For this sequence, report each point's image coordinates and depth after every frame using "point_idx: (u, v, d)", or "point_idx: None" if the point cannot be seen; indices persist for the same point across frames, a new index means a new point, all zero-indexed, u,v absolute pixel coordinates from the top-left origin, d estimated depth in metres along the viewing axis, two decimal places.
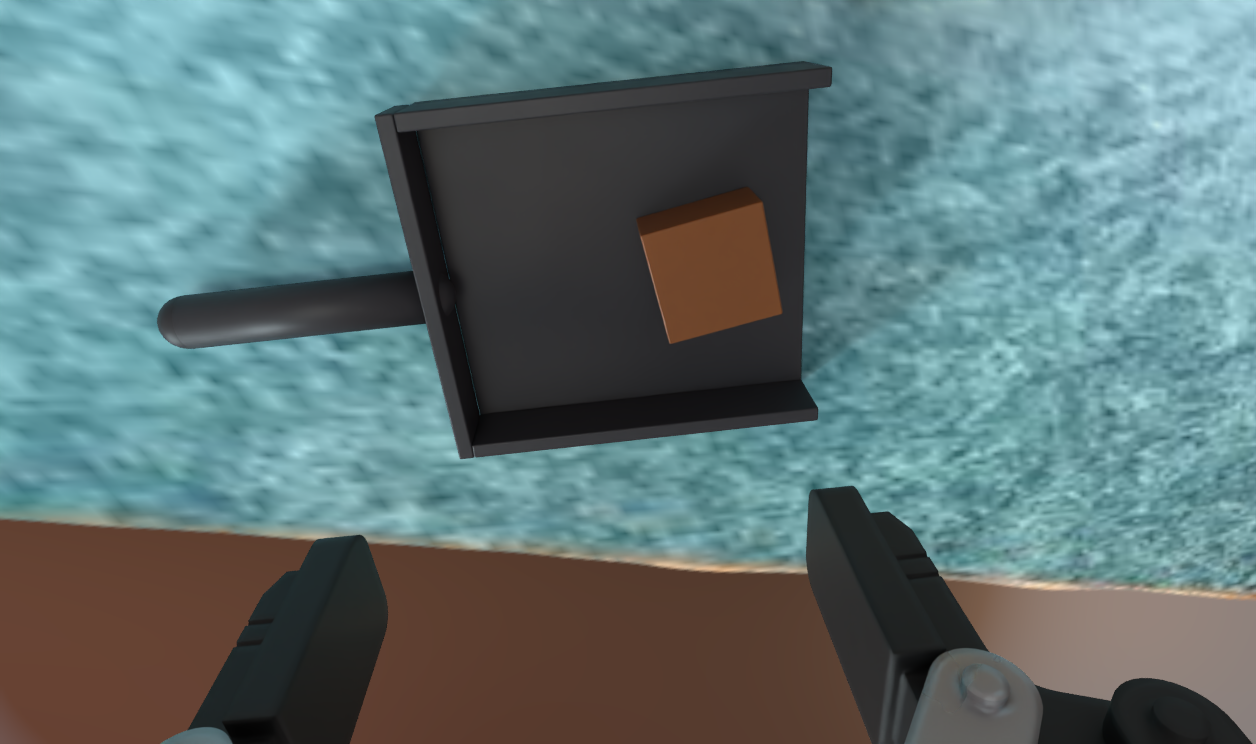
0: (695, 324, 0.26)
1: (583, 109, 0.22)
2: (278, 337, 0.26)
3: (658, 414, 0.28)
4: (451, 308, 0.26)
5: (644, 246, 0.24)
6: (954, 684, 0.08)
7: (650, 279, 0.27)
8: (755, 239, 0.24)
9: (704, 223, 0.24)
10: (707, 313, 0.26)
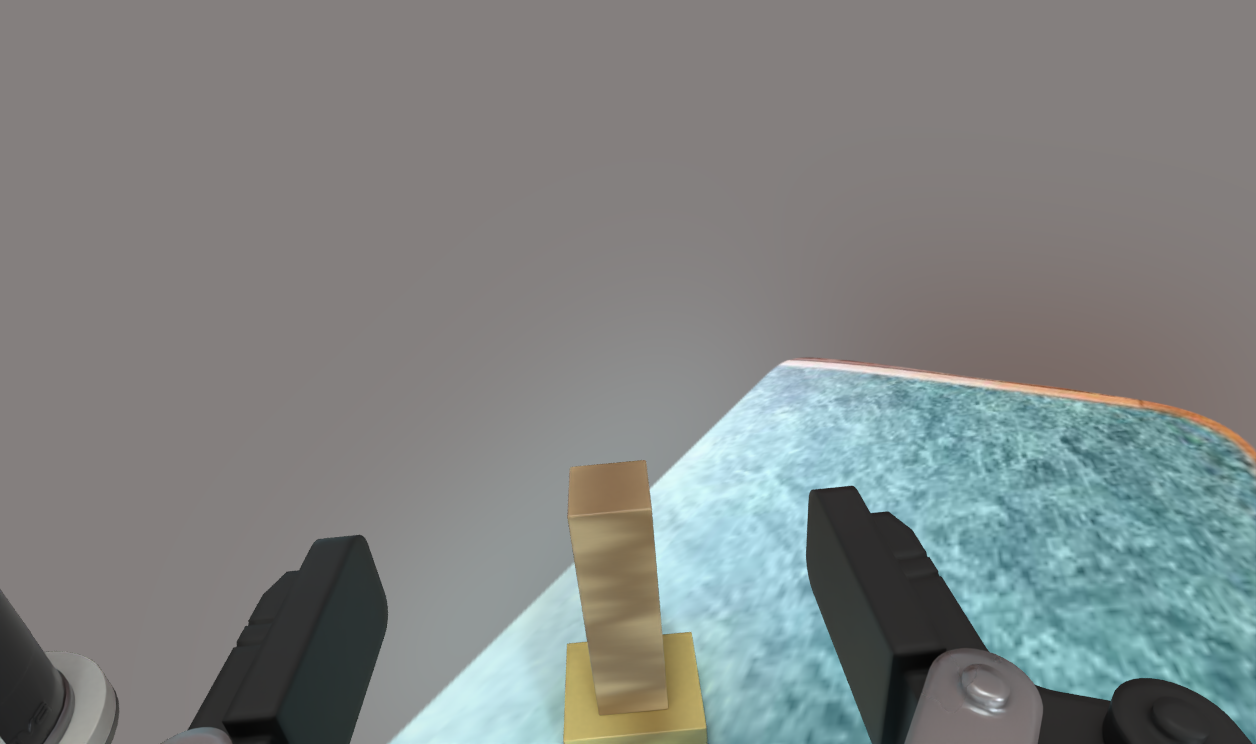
0: None
1: None
2: None
3: None
4: None
5: None
6: (954, 684, 0.08)
7: None
8: None
9: None
10: None
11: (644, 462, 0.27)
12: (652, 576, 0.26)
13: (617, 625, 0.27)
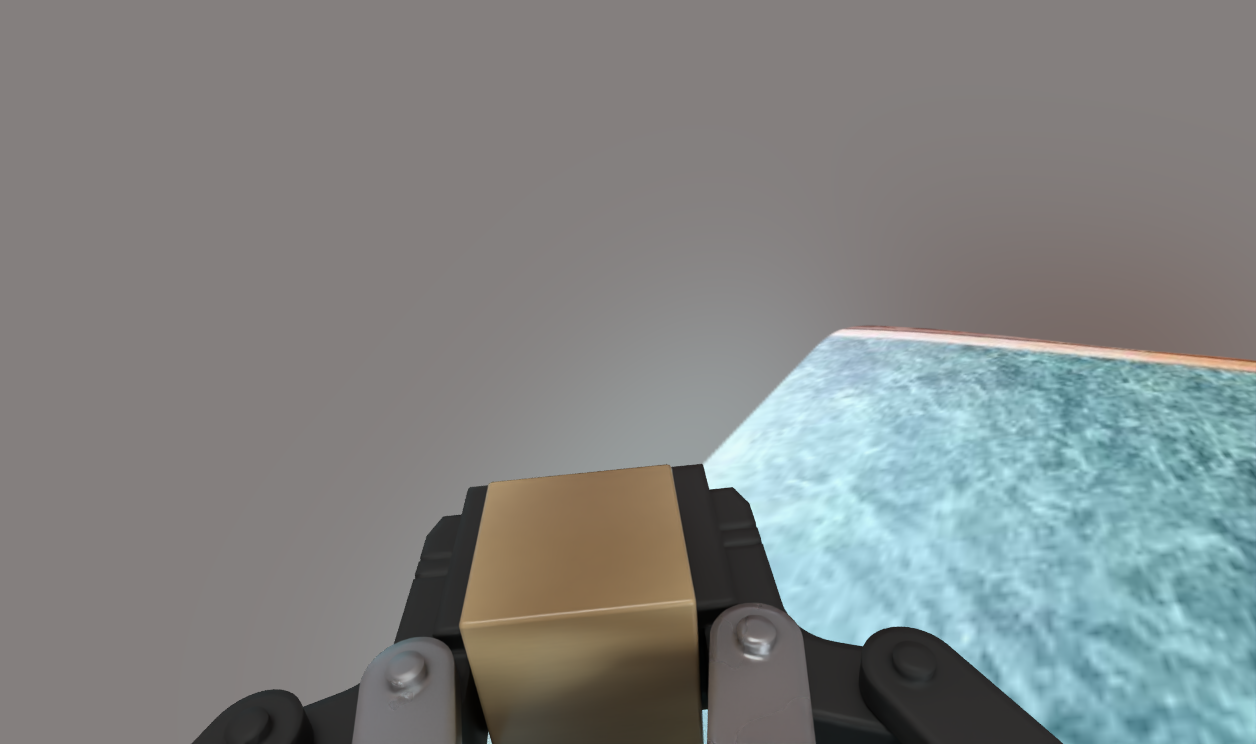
0: None
1: None
2: None
3: None
4: None
5: None
6: (730, 632, 0.09)
7: None
8: None
9: None
10: None
11: (668, 470, 0.11)
12: None
13: None
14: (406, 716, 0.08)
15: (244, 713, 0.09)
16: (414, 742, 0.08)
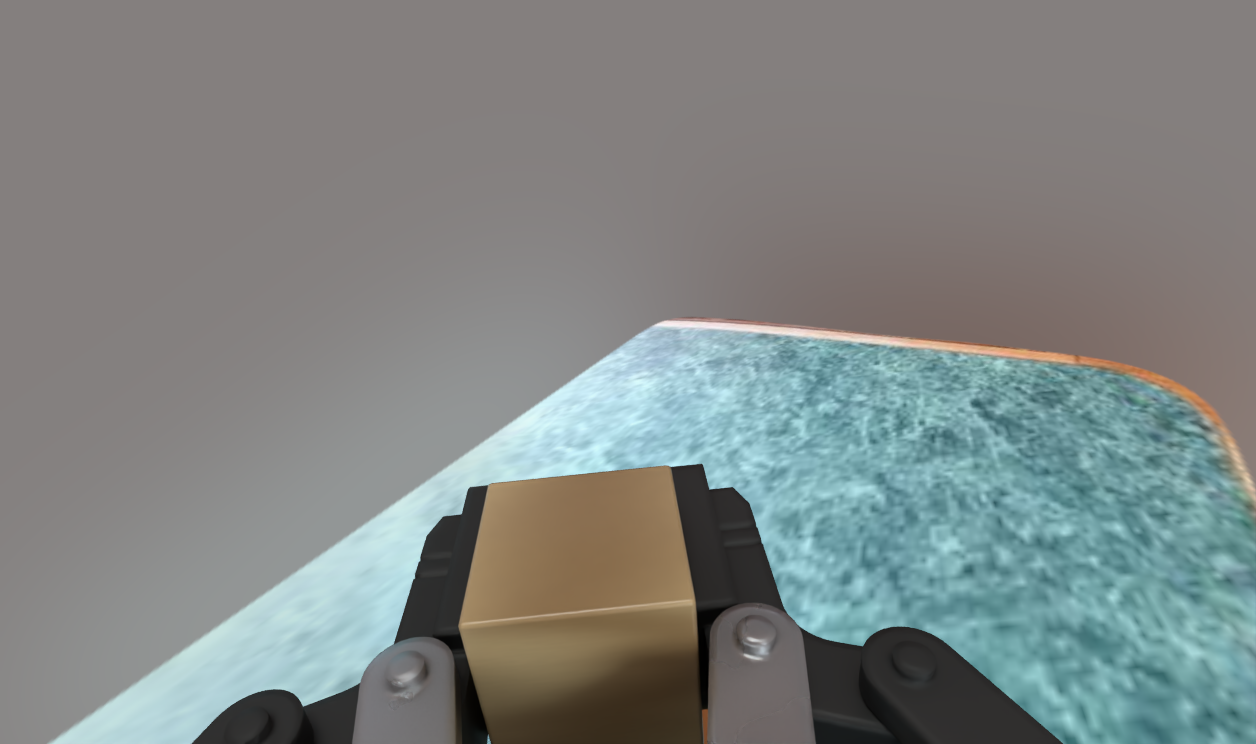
0: None
1: None
2: None
3: None
4: None
5: None
6: (730, 633, 0.09)
7: None
8: None
9: None
10: None
11: (667, 471, 0.11)
12: None
13: None
14: (406, 715, 0.08)
15: (244, 713, 0.09)
16: (413, 742, 0.08)
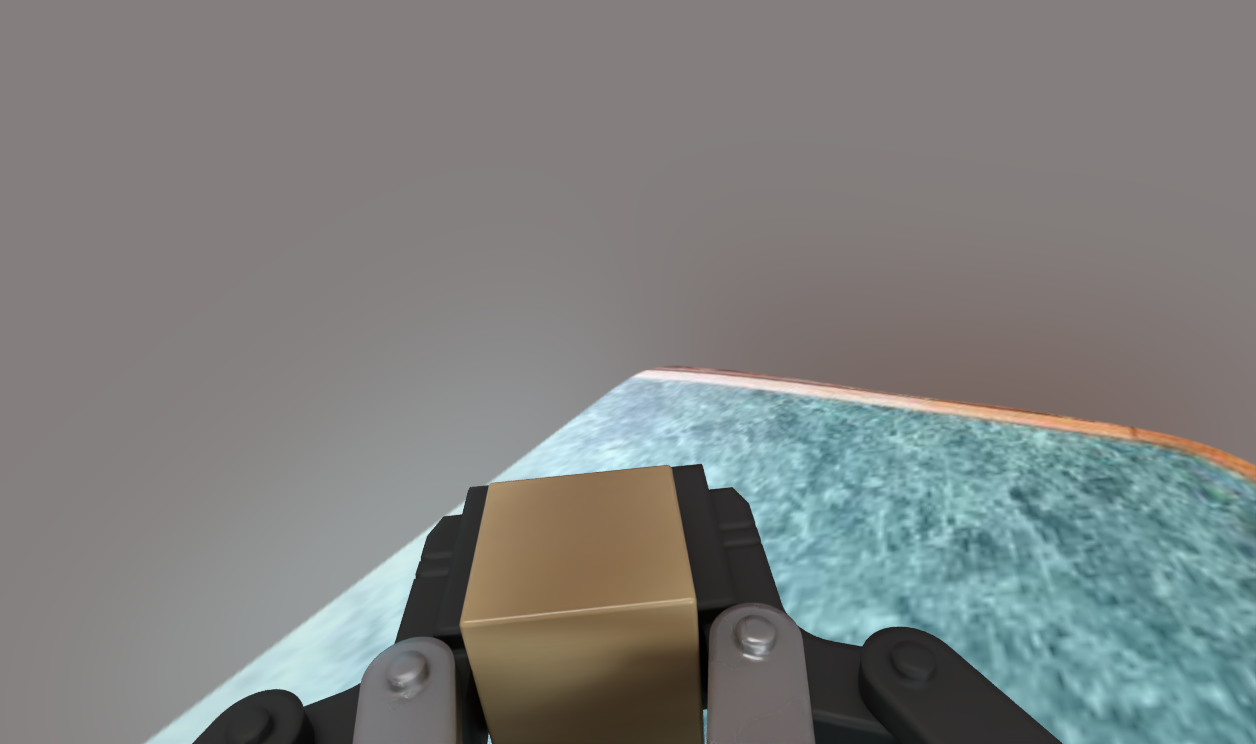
0: None
1: None
2: None
3: None
4: None
5: None
6: (730, 632, 0.09)
7: None
8: None
9: None
10: None
11: (668, 470, 0.11)
12: None
13: None
14: (406, 715, 0.08)
15: (245, 713, 0.09)
16: (414, 742, 0.08)
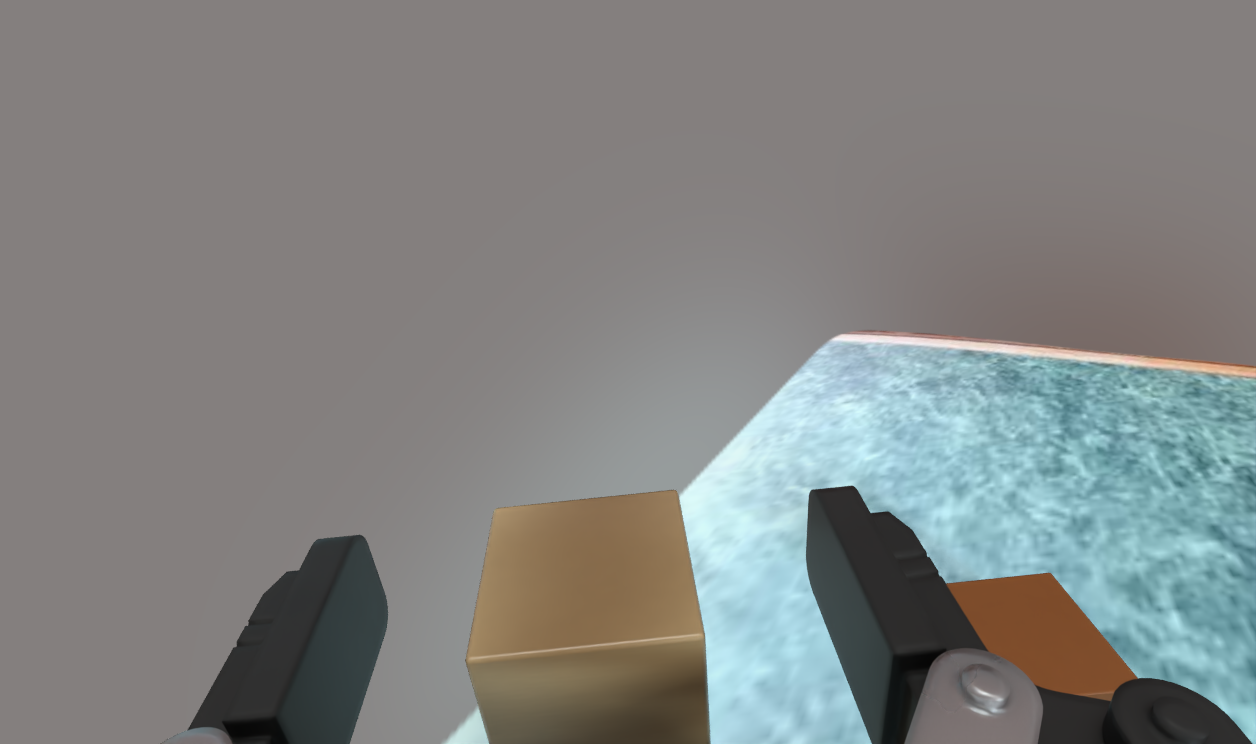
0: (1100, 655, 0.20)
1: None
2: None
3: None
4: None
5: None
6: (954, 684, 0.08)
7: None
8: (963, 592, 0.22)
9: None
10: (1077, 641, 0.20)
11: (674, 496, 0.11)
12: None
13: None
14: None
15: None
16: None
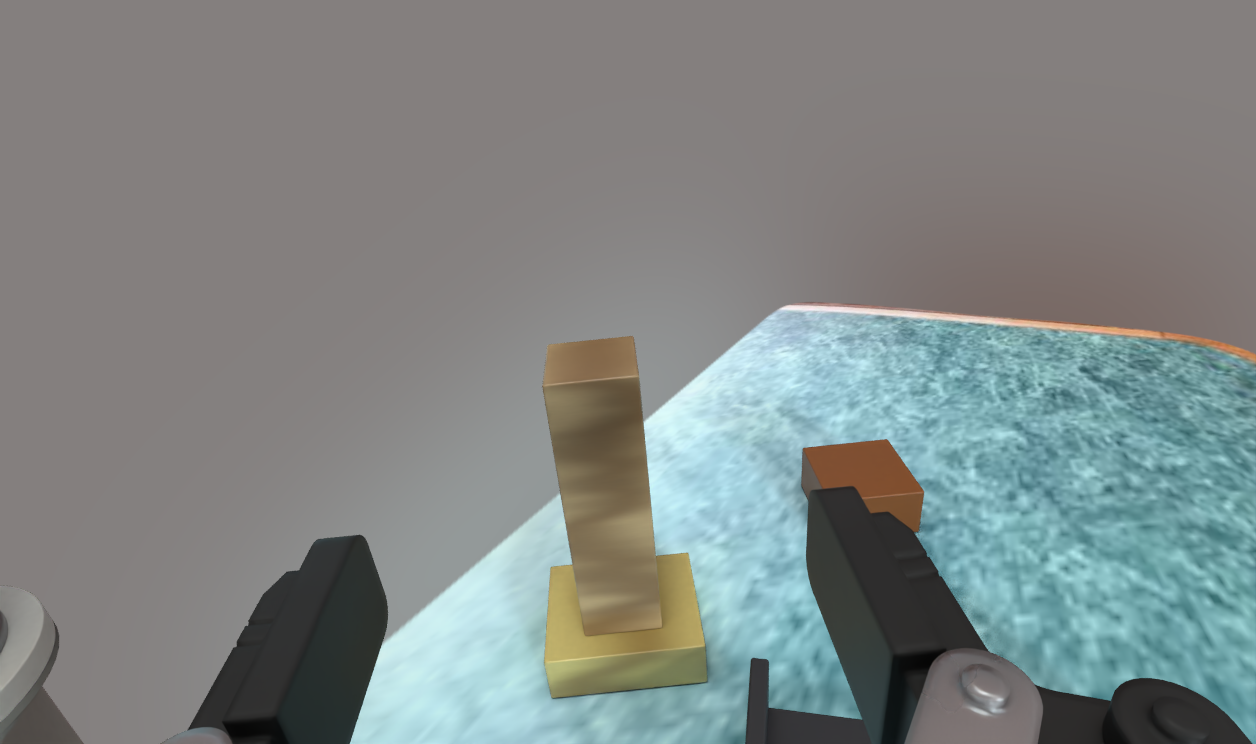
0: (902, 477, 0.32)
1: None
2: None
3: None
4: None
5: None
6: (954, 684, 0.08)
7: None
8: (830, 450, 0.35)
9: (818, 471, 0.33)
10: (891, 471, 0.33)
11: (631, 337, 0.24)
12: (641, 462, 0.23)
13: (603, 523, 0.24)
14: None
15: None
16: None
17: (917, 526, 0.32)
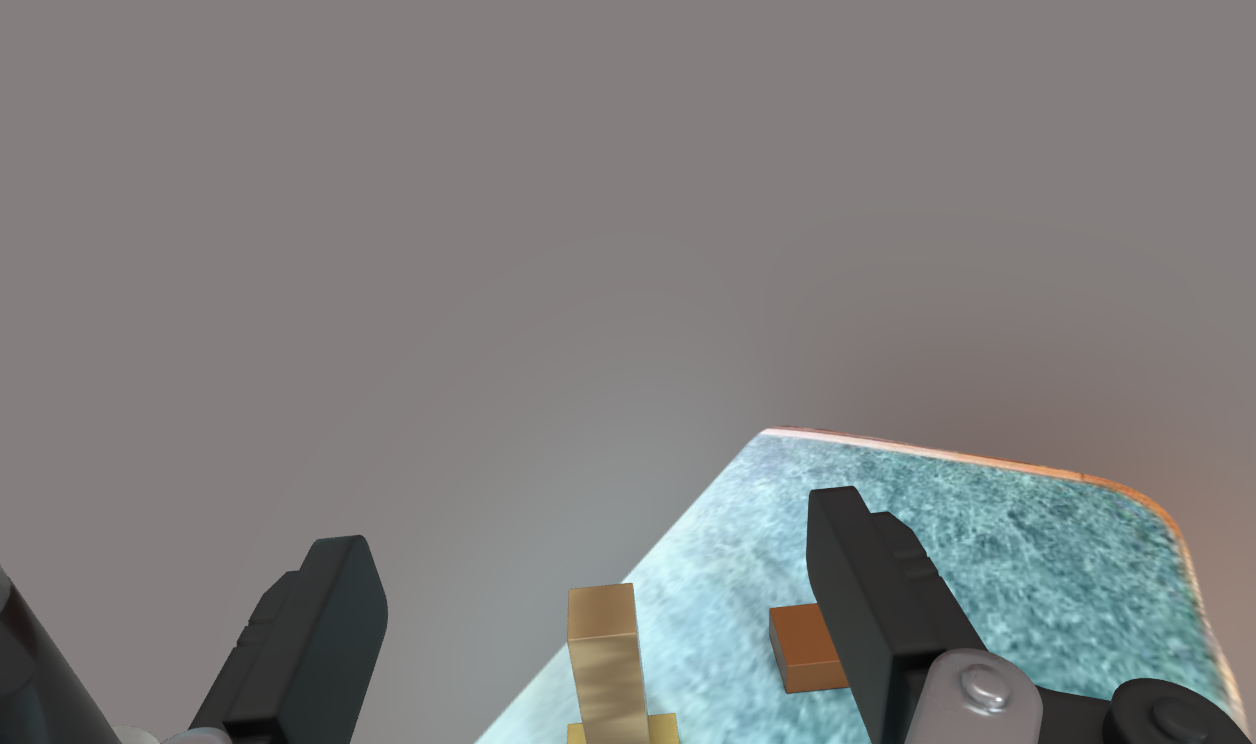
0: None
1: None
2: None
3: None
4: None
5: (794, 665, 0.40)
6: (954, 684, 0.08)
7: None
8: (791, 611, 0.43)
9: (780, 634, 0.42)
10: None
11: (631, 585, 0.32)
12: (638, 684, 0.31)
13: (609, 722, 0.32)
14: None
15: None
16: None
17: None
